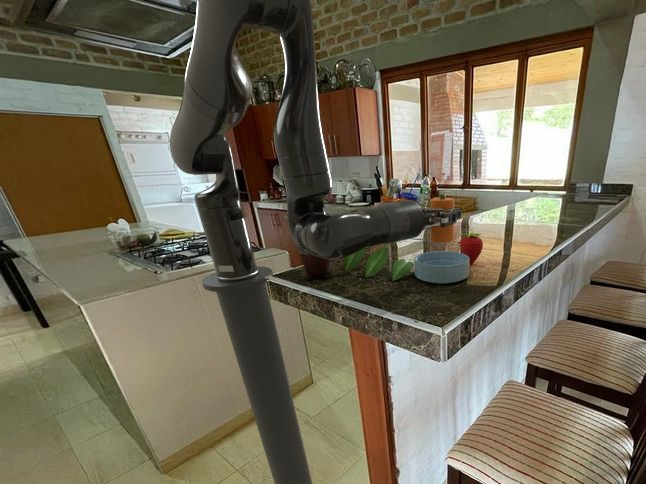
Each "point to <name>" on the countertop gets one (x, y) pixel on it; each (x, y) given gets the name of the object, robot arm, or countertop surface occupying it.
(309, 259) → the mate gourd
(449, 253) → the bowl
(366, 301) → the countertop surface
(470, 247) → the strawberry
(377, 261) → the leaves
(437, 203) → the vegetable
